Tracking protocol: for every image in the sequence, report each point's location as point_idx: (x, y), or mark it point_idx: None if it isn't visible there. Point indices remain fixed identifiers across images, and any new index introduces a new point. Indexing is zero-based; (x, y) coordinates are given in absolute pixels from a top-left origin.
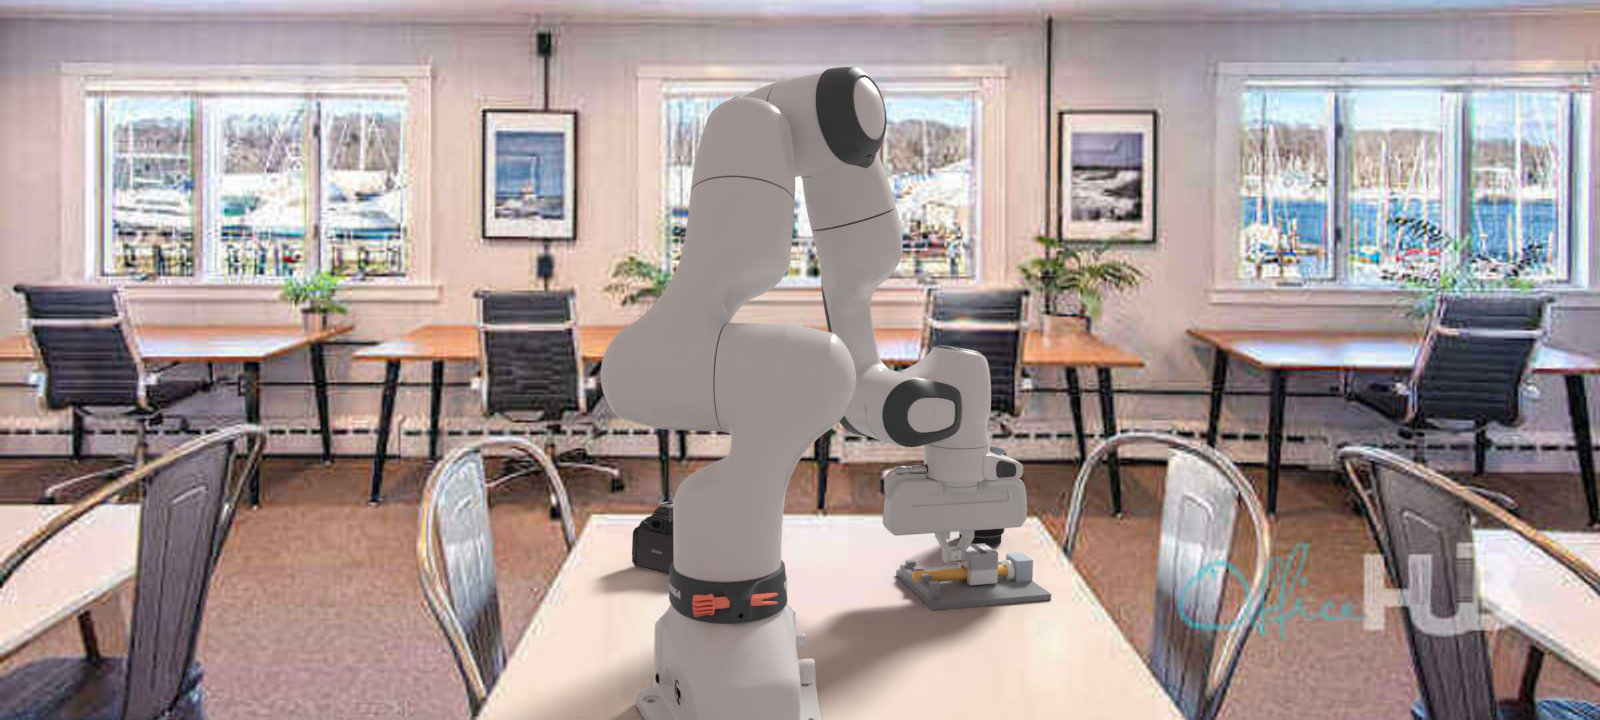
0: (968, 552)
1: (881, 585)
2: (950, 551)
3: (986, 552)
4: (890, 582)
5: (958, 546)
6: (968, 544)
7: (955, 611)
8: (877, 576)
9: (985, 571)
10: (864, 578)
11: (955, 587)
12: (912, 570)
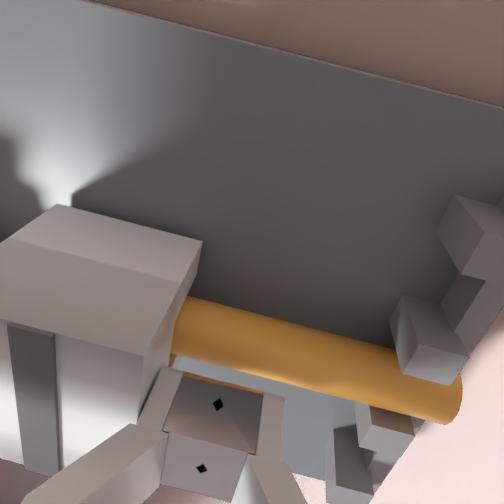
0: (137, 394)
1: (478, 436)
2: (255, 452)
3: (10, 335)
4: (423, 440)
5: (157, 476)
6: (103, 455)
7: (461, 45)
8: (417, 487)
9: (91, 253)
10: (472, 495)
11: (272, 268)
12: (347, 453)
